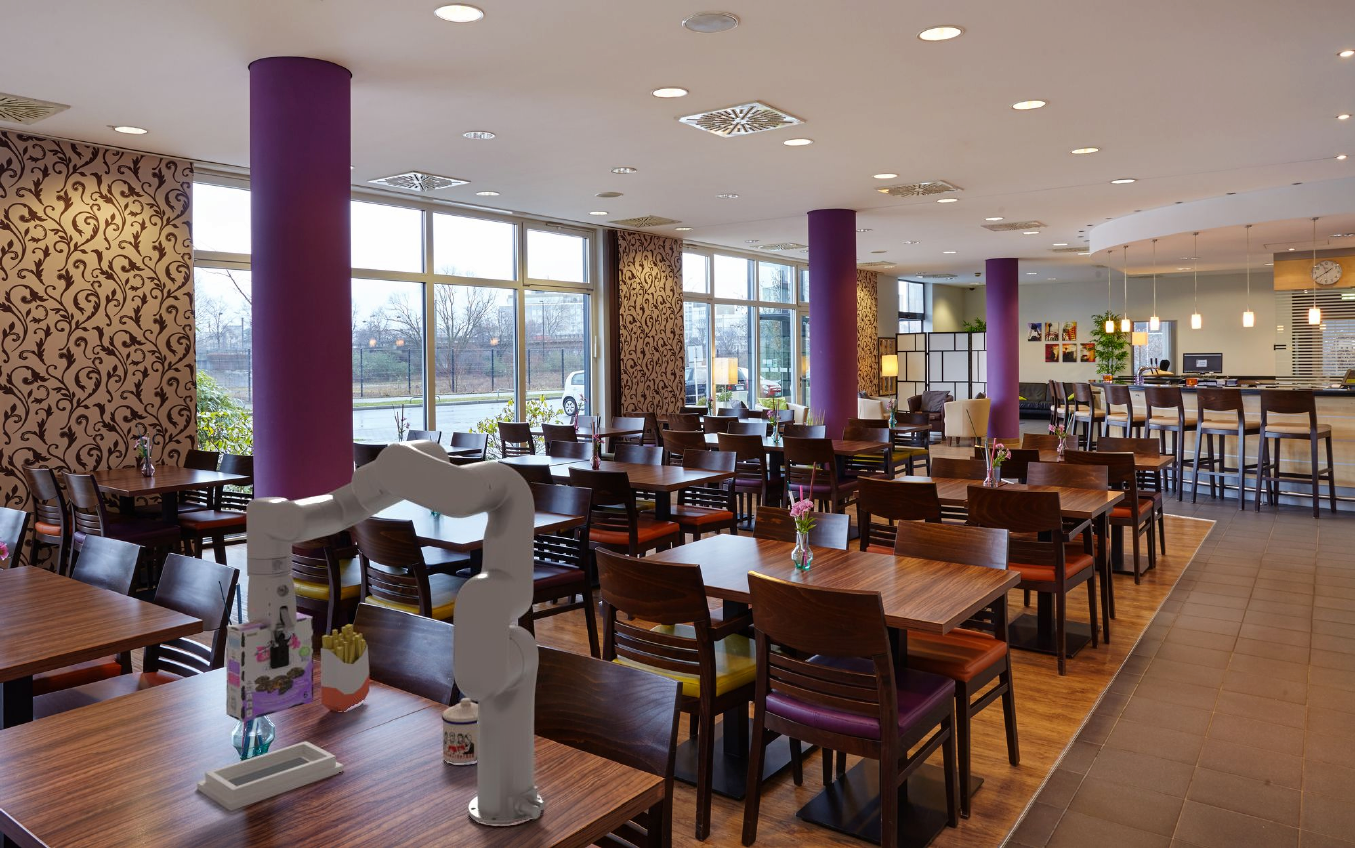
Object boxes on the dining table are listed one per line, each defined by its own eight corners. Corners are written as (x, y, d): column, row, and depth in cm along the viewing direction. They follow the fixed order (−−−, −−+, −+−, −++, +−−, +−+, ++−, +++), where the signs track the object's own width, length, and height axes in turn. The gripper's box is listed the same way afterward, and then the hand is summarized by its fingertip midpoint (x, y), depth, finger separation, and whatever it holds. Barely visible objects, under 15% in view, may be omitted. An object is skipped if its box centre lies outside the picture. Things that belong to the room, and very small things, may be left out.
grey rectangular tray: (343, 771, 171) (343, 755, 171) (230, 810, 155) (230, 793, 155) (308, 753, 179) (308, 738, 179) (197, 788, 163) (196, 772, 163)
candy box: (242, 723, 159) (241, 630, 159) (225, 715, 163) (224, 625, 162) (314, 702, 170) (314, 615, 170) (297, 695, 174) (297, 610, 173)
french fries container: (370, 701, 209) (370, 623, 208) (337, 717, 199) (337, 635, 198) (354, 698, 211) (354, 621, 210) (321, 714, 200) (320, 633, 200)
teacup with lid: (433, 764, 175) (432, 704, 174) (456, 746, 183) (456, 689, 183) (490, 771, 172) (490, 710, 171) (510, 752, 180) (510, 694, 180)
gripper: (313, 568, 163) (314, 668, 164) (267, 556, 174) (268, 649, 175) (272, 575, 157) (273, 678, 158) (227, 562, 168) (228, 658, 169)
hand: (270, 662), depth 166 cm, fingers closed on candy box, 6 cm apart
